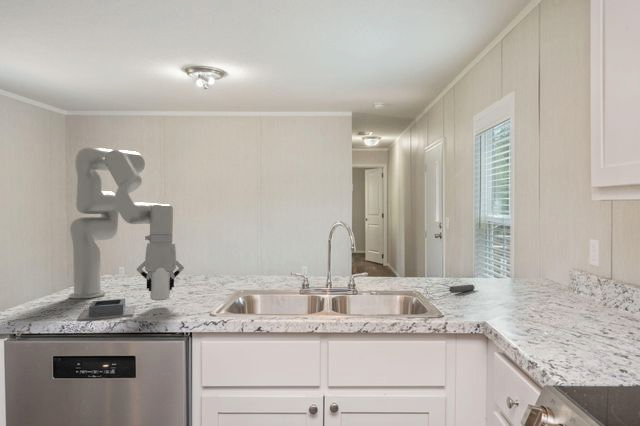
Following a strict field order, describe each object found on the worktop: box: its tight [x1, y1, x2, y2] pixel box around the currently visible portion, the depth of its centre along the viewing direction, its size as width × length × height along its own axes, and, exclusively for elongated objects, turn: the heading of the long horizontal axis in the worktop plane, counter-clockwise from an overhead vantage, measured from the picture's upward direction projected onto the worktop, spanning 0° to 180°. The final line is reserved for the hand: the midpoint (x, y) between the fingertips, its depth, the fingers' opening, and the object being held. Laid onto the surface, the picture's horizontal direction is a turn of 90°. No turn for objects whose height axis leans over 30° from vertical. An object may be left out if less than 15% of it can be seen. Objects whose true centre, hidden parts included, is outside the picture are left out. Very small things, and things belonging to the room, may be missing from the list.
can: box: [149, 268, 171, 301], centre depth 150 cm, size 6×6×12 cm
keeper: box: [76, 298, 136, 322], centre depth 142 cm, size 14×16×4 cm
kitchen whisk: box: [423, 282, 476, 301], centre depth 169 cm, size 6×34×6 cm, turn 130°
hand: (160, 289), depth 150 cm, fingers closed on can, 6 cm apart
